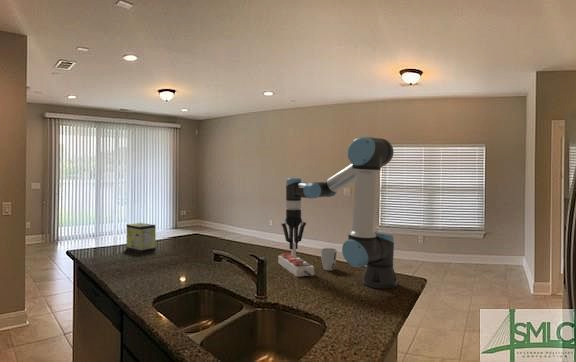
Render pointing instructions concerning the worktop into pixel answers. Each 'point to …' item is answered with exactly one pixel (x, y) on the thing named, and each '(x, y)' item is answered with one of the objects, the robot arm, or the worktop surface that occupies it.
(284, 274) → the worktop surface
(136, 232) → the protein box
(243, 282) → the worktop surface
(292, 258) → the plate
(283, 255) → the block
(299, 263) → the rocker
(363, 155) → the robot arm
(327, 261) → the cup
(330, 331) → the worktop surface
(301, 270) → the power strip
